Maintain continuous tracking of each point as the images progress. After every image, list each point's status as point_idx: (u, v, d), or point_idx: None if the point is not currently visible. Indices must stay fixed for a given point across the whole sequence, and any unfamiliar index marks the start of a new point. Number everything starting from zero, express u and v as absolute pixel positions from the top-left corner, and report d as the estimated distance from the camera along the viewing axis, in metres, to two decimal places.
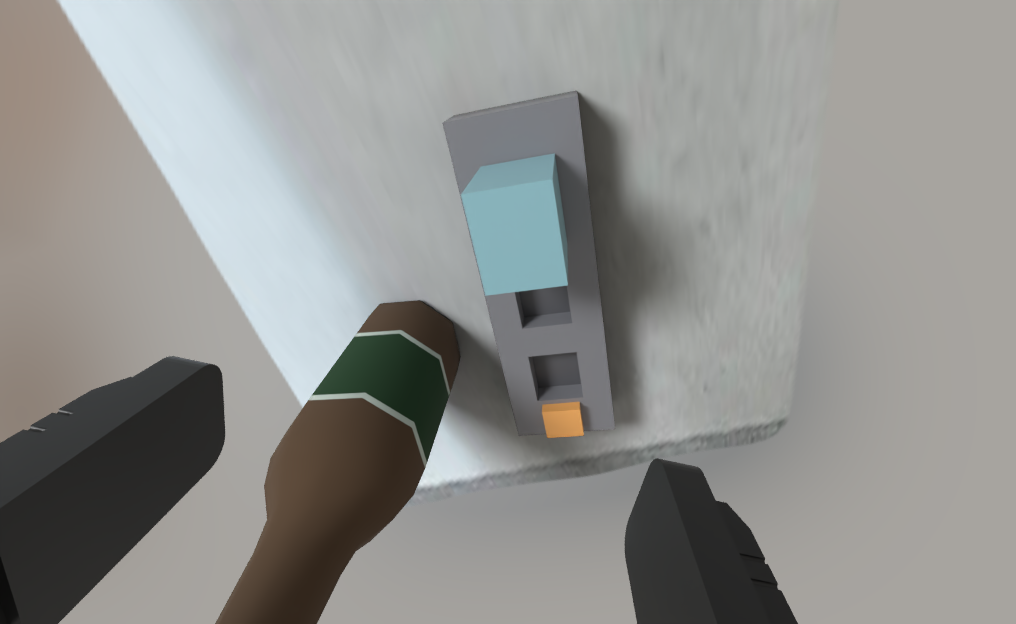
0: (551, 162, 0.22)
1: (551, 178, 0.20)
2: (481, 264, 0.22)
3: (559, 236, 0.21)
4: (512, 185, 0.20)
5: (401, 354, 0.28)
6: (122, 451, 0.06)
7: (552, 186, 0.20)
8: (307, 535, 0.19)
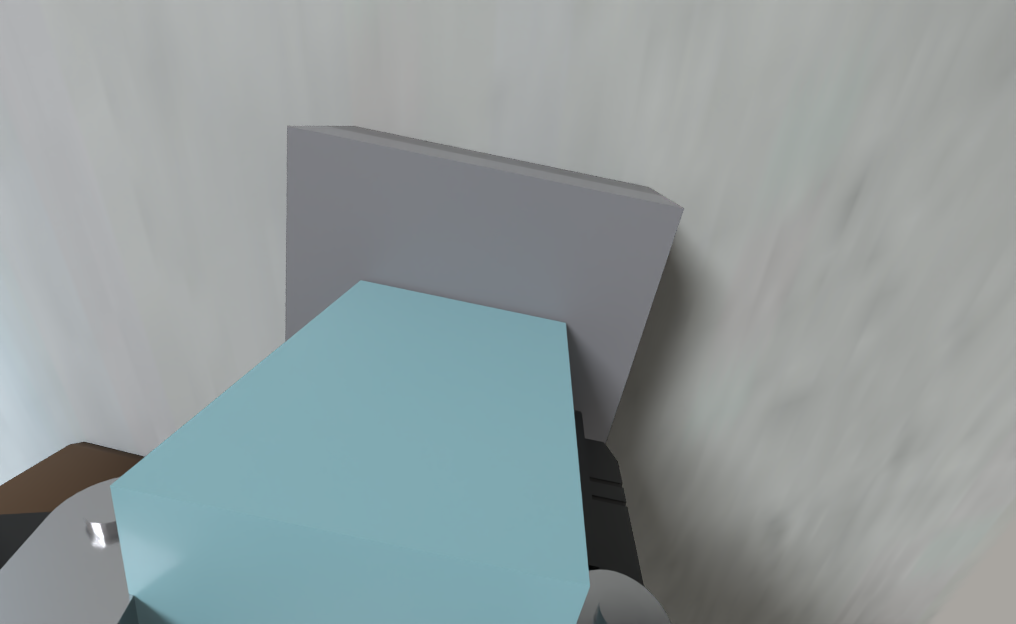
0: (563, 378, 0.07)
1: (583, 567, 0.04)
2: None
3: None
4: (383, 539, 0.04)
5: None
6: None
7: (575, 607, 0.04)
8: None
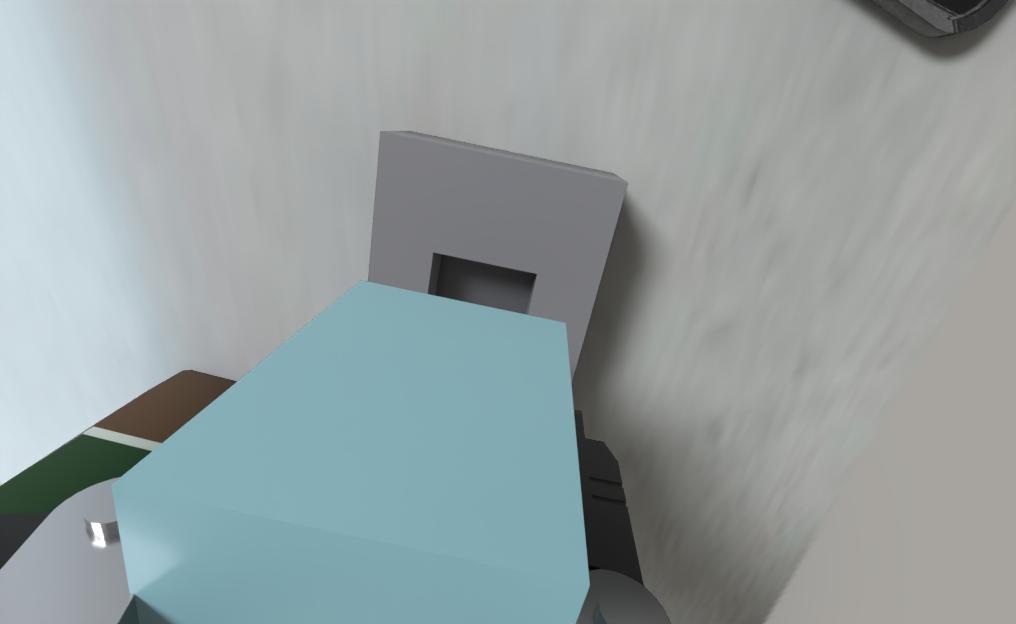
0: (563, 378, 0.07)
1: (583, 567, 0.04)
2: None
3: None
4: (385, 538, 0.04)
5: None
6: None
7: (575, 606, 0.04)
8: None
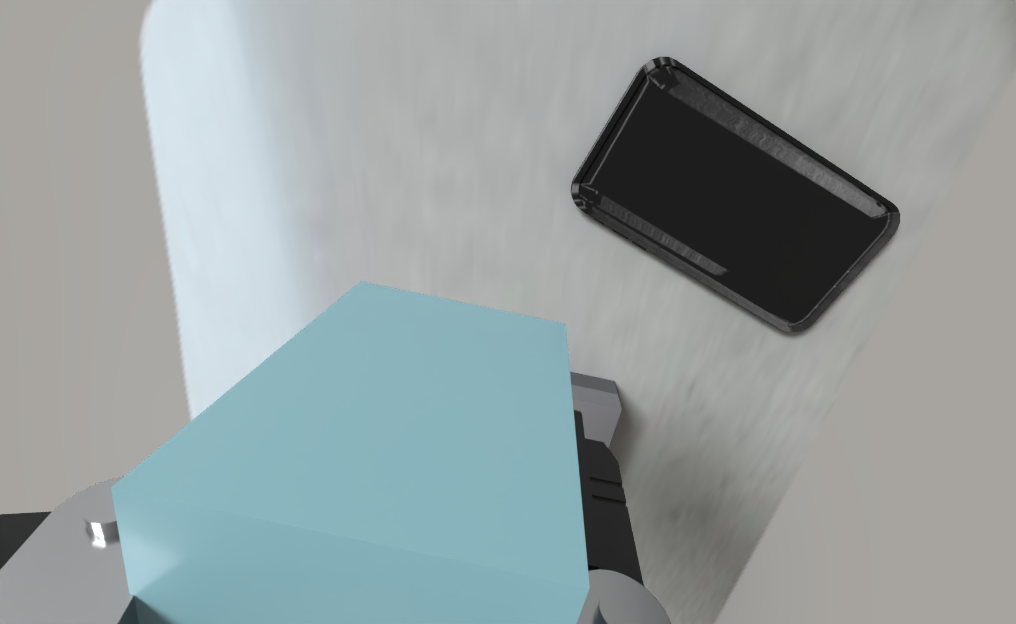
0: (563, 379, 0.07)
1: (583, 569, 0.04)
2: None
3: None
4: (385, 541, 0.04)
5: None
6: None
7: (575, 609, 0.04)
8: None
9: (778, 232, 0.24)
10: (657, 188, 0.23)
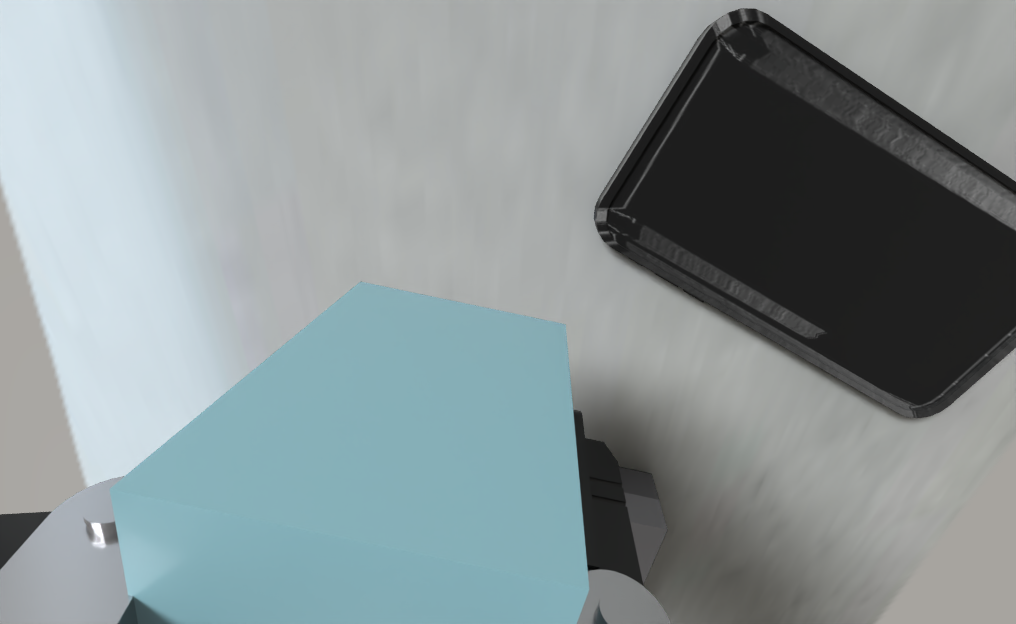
0: (562, 380, 0.07)
1: (582, 571, 0.04)
2: None
3: None
4: (383, 543, 0.04)
5: None
6: None
7: (574, 611, 0.04)
8: None
9: (908, 278, 0.16)
10: (727, 214, 0.15)
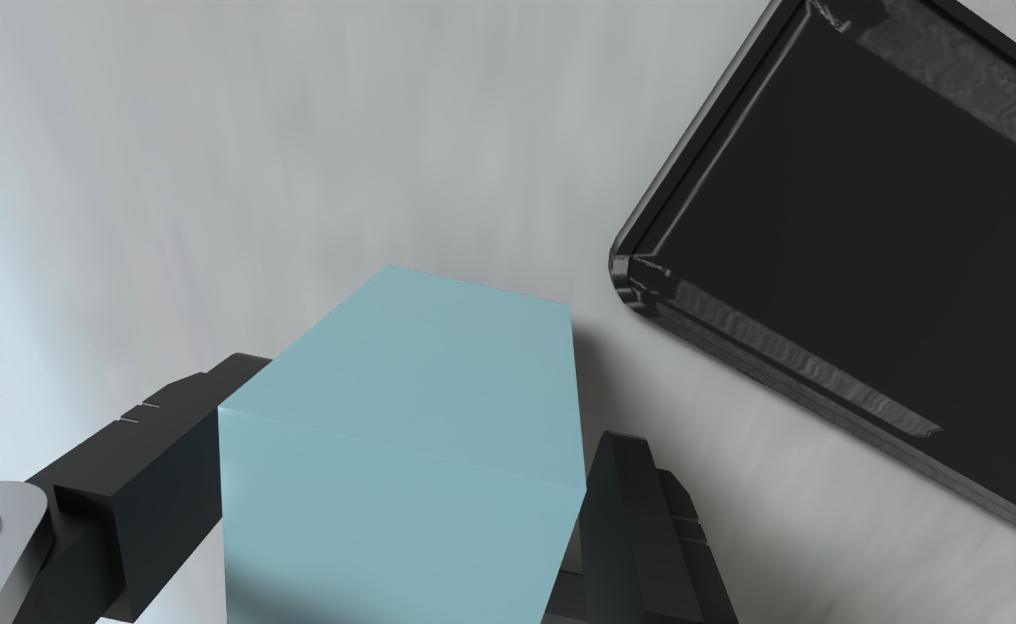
0: (567, 348, 0.08)
1: (581, 478, 0.05)
2: (239, 617, 0.06)
3: None
4: (428, 452, 0.05)
5: None
6: (207, 440, 0.07)
7: (575, 509, 0.05)
8: None
9: None
10: (807, 264, 0.10)
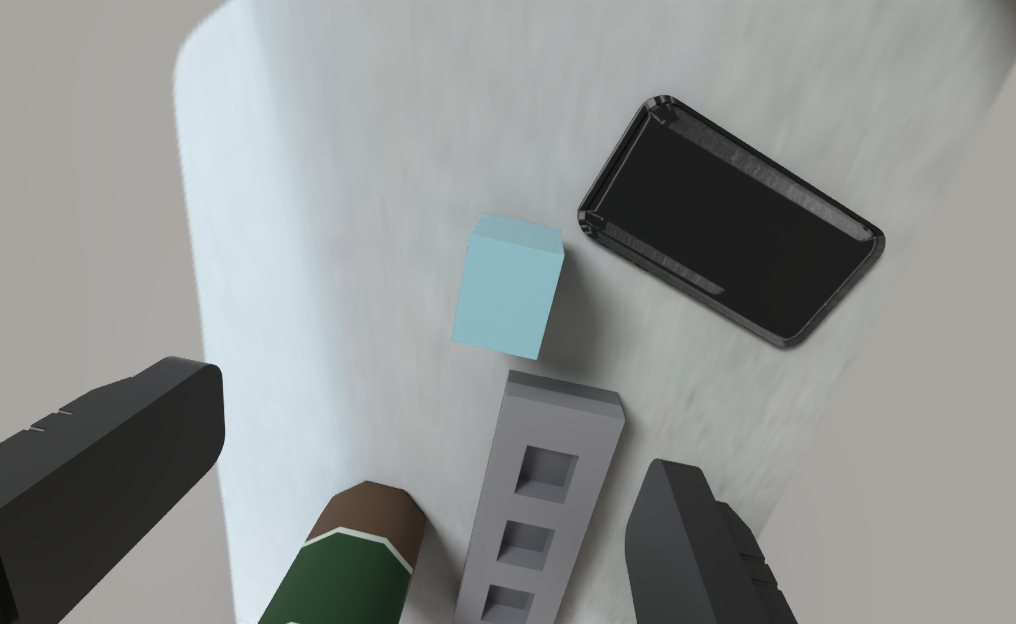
0: (559, 237, 0.22)
1: (563, 254, 0.19)
2: (460, 308, 0.21)
3: (548, 311, 0.20)
4: (524, 246, 0.19)
5: (382, 574, 0.28)
6: (122, 452, 0.06)
7: (561, 262, 0.19)
8: None
9: (772, 255, 0.25)
10: (659, 214, 0.25)
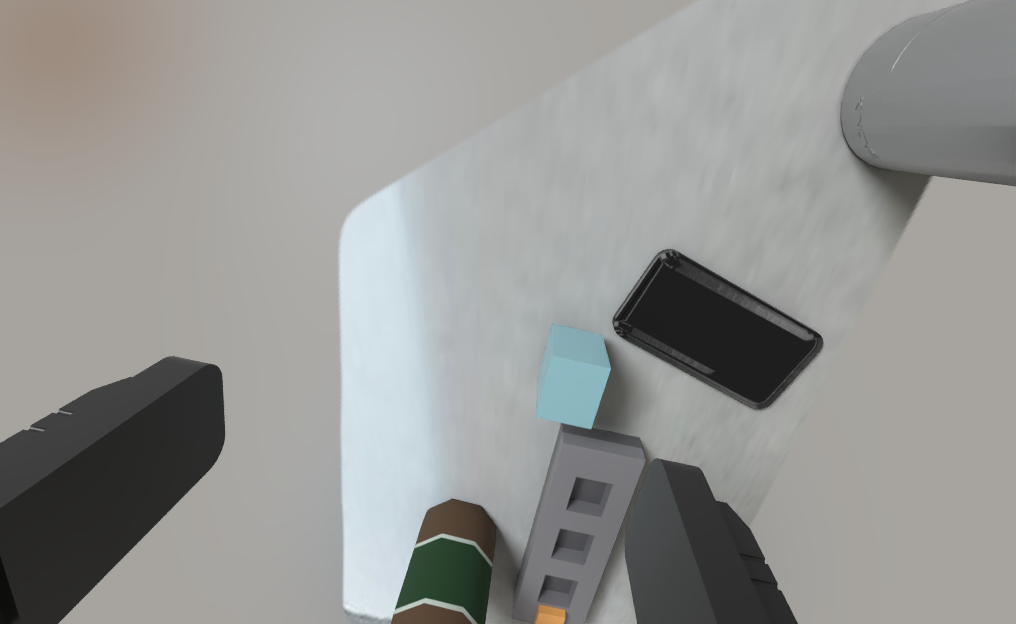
0: (603, 346, 0.34)
1: (610, 367, 0.31)
2: (543, 398, 0.32)
3: (599, 400, 0.32)
4: (585, 362, 0.31)
5: (475, 567, 0.40)
6: (123, 451, 0.06)
7: (609, 372, 0.31)
8: None
9: (747, 349, 0.37)
10: (668, 323, 0.36)
